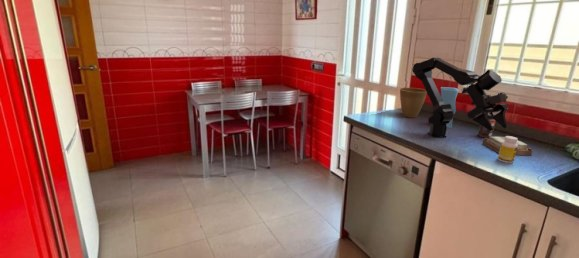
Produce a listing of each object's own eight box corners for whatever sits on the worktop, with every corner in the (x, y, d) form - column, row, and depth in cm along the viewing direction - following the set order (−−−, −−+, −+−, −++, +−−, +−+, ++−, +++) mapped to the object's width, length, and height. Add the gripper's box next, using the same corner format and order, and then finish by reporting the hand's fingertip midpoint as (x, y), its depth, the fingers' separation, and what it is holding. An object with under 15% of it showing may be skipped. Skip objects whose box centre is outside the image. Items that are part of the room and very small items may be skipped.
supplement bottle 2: (513, 164, 123) (520, 140, 120) (497, 161, 126) (503, 138, 123) (513, 160, 127) (519, 137, 125) (497, 156, 130) (503, 134, 127)
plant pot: (426, 116, 189) (430, 89, 185) (418, 121, 178) (422, 93, 173) (401, 111, 198) (405, 86, 193) (392, 116, 187) (396, 89, 182)
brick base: (500, 154, 133) (503, 145, 132) (482, 143, 145) (484, 135, 144) (531, 155, 133) (533, 146, 132) (510, 144, 146) (512, 136, 144)
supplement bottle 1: (493, 139, 152) (499, 116, 149) (480, 137, 153) (485, 115, 150) (489, 135, 158) (494, 113, 154) (476, 134, 159) (480, 112, 155)
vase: (434, 122, 177) (440, 86, 171) (449, 123, 175) (456, 88, 169) (436, 126, 170) (442, 89, 164) (452, 127, 168) (459, 90, 161)
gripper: (480, 86, 123) (502, 121, 117) (509, 84, 131) (531, 116, 125) (458, 102, 132) (477, 135, 126) (486, 99, 140) (506, 130, 134)
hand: (499, 129), depth 128 cm, fingers open, 9 cm apart
